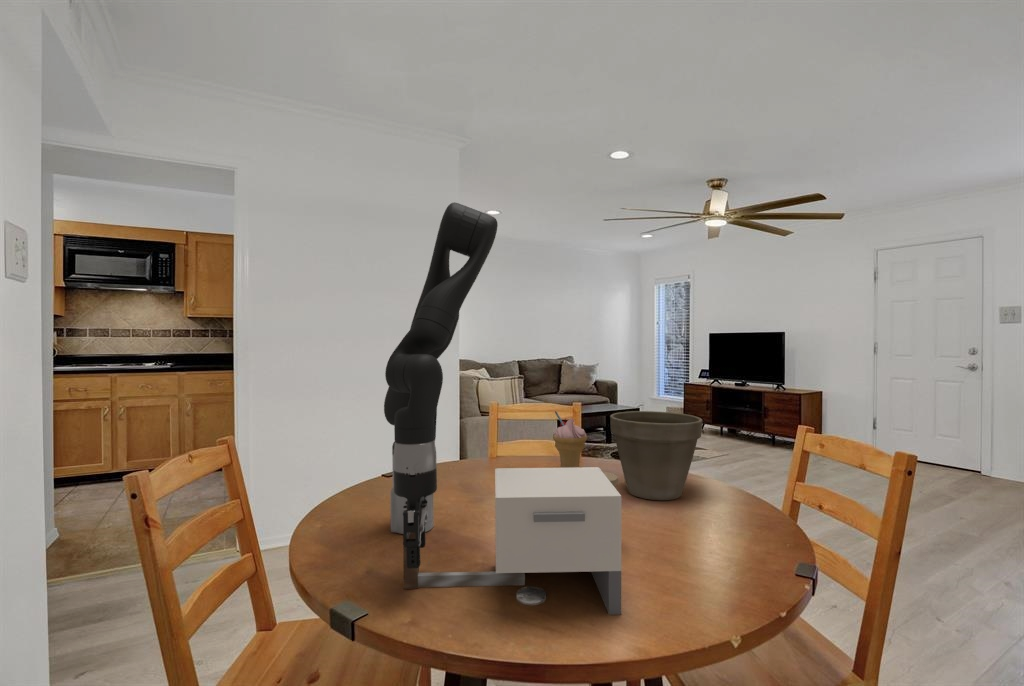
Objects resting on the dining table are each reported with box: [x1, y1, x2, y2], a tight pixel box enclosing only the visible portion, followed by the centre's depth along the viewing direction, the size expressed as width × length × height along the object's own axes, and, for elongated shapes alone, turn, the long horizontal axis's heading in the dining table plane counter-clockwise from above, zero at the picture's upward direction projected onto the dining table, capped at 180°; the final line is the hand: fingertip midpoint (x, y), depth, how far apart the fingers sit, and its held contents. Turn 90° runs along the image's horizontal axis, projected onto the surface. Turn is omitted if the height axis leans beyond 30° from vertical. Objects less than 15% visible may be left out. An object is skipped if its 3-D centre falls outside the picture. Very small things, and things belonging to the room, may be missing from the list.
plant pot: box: [609, 410, 703, 501], centre depth 147 cm, size 25×25×22 cm
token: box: [515, 586, 547, 606], centre depth 89 cm, size 5×5×1 cm
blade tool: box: [402, 533, 526, 590], centre depth 94 cm, size 21×2×10 cm, turn 92°
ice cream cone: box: [552, 411, 588, 468], centre depth 167 cm, size 11×11×20 cm
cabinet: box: [494, 466, 622, 616], centre depth 92 cm, size 20×19×19 cm
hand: (416, 556), depth 93 cm, fingers open, 8 cm apart
